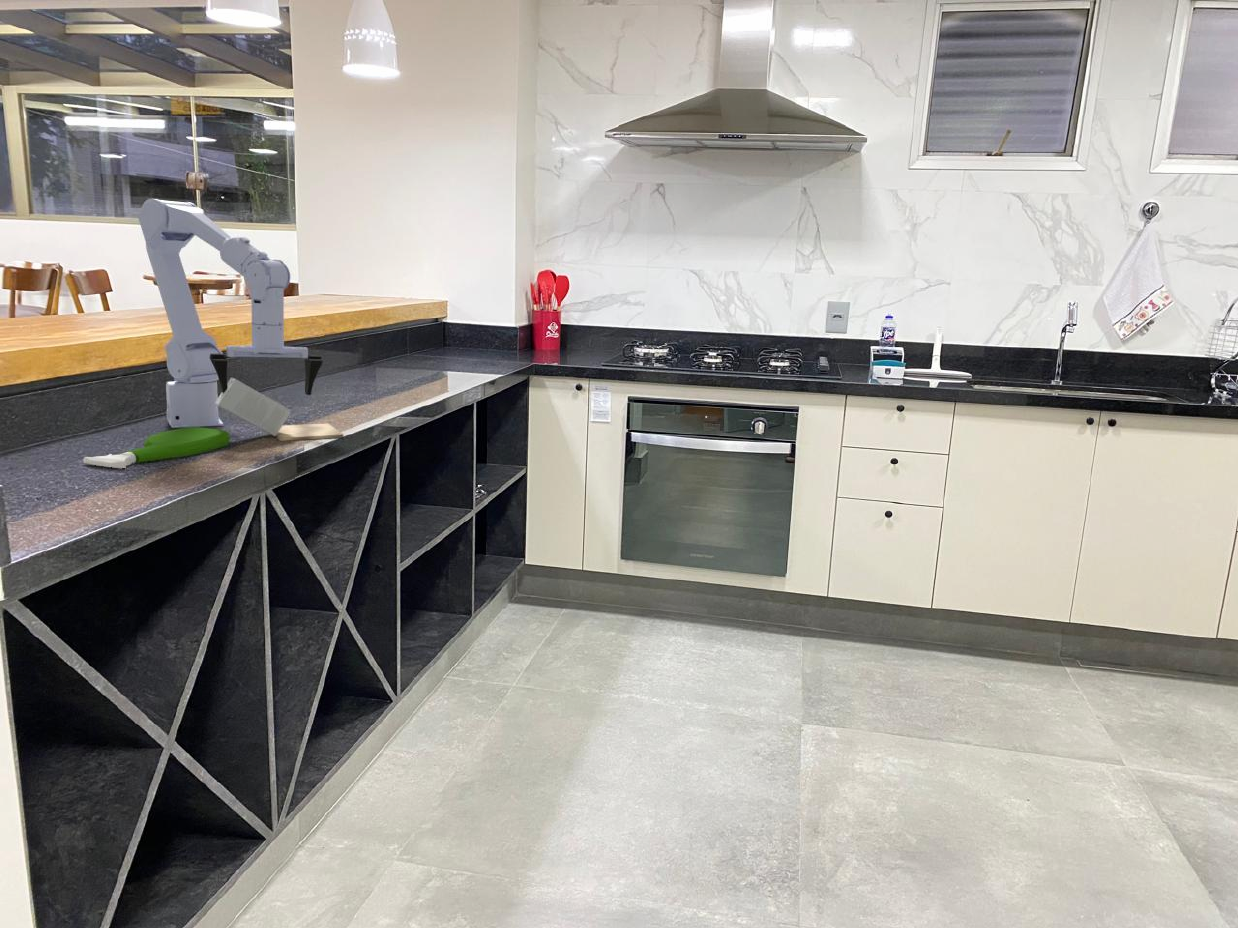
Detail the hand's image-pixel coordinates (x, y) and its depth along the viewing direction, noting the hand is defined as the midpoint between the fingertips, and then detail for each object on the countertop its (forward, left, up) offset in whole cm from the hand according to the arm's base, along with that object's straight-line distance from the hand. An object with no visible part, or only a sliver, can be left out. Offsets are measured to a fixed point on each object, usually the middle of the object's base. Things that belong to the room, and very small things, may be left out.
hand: (268, 394), depth 172 cm
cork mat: (+7, 0, -8) cm, 11 cm away
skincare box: (+2, -1, -6) cm, 6 cm away
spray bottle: (-20, -11, -9) cm, 24 cm away
